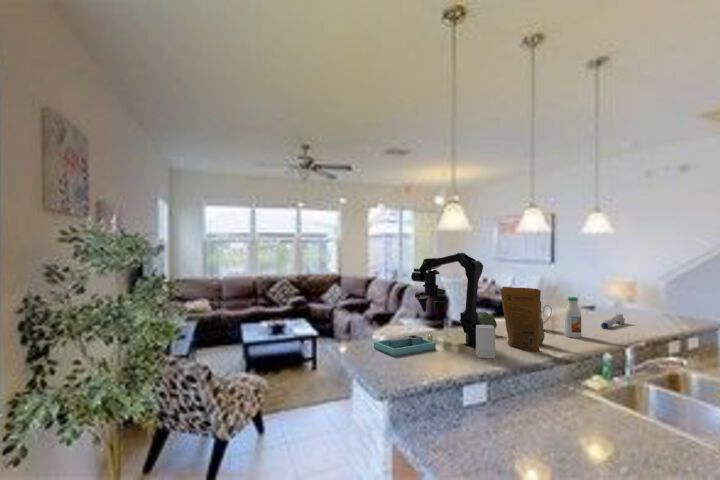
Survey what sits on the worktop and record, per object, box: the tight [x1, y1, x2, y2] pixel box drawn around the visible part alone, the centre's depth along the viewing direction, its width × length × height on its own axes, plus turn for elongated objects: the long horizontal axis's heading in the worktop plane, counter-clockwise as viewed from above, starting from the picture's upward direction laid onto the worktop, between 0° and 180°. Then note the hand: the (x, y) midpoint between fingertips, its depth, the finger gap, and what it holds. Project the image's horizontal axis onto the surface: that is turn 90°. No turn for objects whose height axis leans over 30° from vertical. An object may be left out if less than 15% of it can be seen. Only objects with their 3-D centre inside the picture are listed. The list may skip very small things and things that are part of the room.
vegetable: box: [477, 311, 498, 330], centre depth 222 cm, size 12×13×15 cm
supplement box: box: [475, 325, 496, 359], centre depth 179 cm, size 7×7×13 cm
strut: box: [388, 334, 424, 349], centre depth 191 cm, size 16×6×4 cm, turn 120°
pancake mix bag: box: [499, 286, 542, 353], centre depth 191 cm, size 7×19×28 cm, turn 36°
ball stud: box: [427, 334, 433, 342], centre depth 202 cm, size 2×2×4 cm
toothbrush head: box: [600, 312, 626, 330], centre depth 238 cm, size 5×7×25 cm
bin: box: [373, 336, 437, 357], centre depth 191 cm, size 16×23×3 cm
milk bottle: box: [563, 296, 582, 339], centre depth 213 cm, size 8×8×20 cm
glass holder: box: [540, 300, 553, 324], centre depth 230 cm, size 9×14×15 cm, turn 43°
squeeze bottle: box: [538, 314, 546, 346], centre depth 198 cm, size 8×8×18 cm
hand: (430, 313), depth 214 cm, fingers open, 9 cm apart
